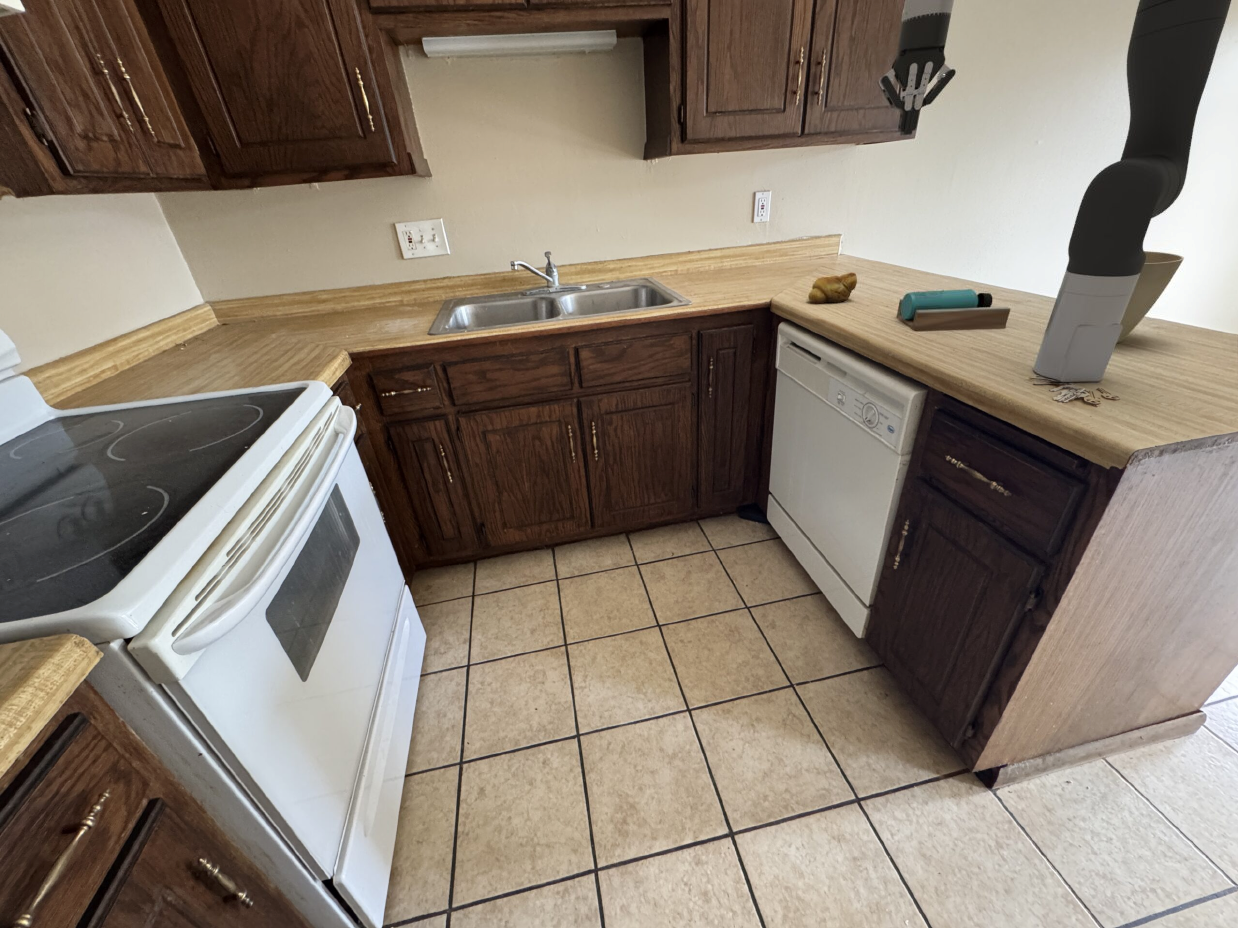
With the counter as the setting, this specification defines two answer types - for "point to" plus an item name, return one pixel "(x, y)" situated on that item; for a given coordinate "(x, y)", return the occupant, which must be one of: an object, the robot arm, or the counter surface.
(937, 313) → the walnut cradle
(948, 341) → the counter surface
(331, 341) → the counter surface
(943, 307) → the beverage bottle
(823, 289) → the bread roll
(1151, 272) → the plant pot
